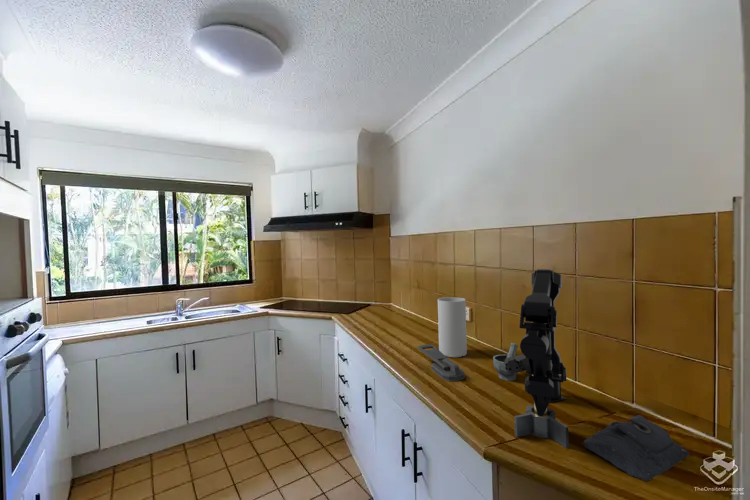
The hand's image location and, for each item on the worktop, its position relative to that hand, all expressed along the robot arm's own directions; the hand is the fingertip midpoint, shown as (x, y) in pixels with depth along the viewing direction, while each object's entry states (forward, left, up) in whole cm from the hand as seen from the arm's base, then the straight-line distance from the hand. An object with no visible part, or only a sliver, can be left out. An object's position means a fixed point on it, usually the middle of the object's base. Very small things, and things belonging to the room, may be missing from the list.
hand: (540, 407), depth 84 cm
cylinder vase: (-11, -63, -6) cm, 64 cm away
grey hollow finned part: (+2, +2, -6) cm, 7 cm away
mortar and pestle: (-16, -32, -6) cm, 36 cm away
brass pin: (0, 0, -6) cm, 6 cm away
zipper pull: (+4, -48, -6) cm, 49 cm away
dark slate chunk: (-14, +13, -7) cm, 20 cm away
